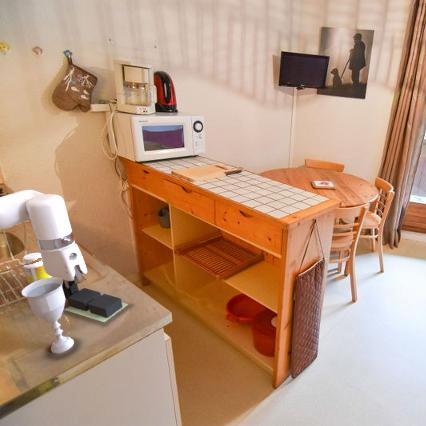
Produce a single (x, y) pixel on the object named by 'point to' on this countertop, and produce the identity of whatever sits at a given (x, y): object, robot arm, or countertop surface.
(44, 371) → the countertop surface
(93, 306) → the pad
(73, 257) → the robot arm
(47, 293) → the chalice
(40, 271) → the supplement bottle
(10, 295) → the countertop surface
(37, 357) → the countertop surface
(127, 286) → the countertop surface
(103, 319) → the mat
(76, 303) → the loose pad
